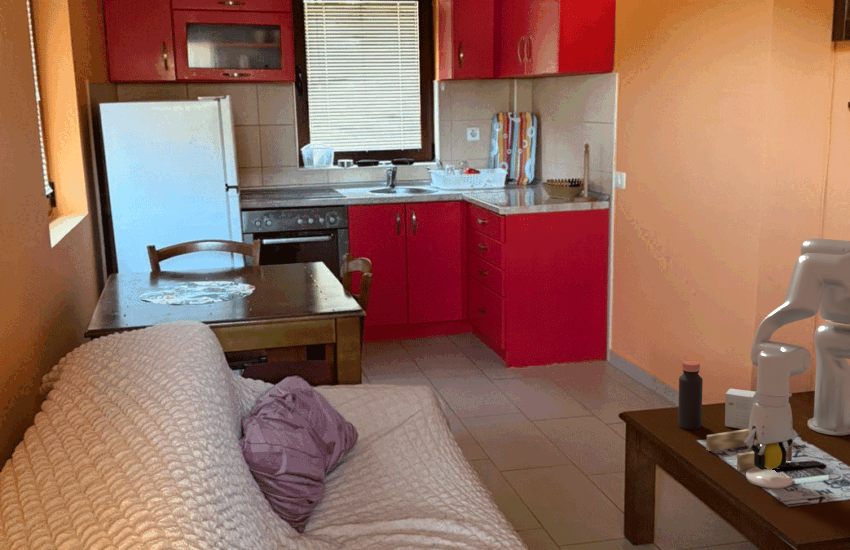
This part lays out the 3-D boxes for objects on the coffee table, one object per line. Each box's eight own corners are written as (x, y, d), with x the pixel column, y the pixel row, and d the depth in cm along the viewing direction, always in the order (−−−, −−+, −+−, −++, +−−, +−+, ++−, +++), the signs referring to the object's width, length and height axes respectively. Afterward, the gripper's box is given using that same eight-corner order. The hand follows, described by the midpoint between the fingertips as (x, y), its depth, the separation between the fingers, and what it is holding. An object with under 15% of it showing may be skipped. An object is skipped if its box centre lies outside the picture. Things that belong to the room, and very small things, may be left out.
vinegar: (705, 428, 244) (707, 364, 241) (684, 431, 244) (685, 366, 240) (694, 421, 251) (696, 358, 247) (674, 423, 250) (675, 360, 246)
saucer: (773, 467, 216) (773, 464, 216) (802, 484, 206) (802, 481, 206) (737, 473, 214) (737, 470, 213) (764, 491, 203) (764, 487, 203)
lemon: (783, 475, 206) (784, 445, 205) (760, 474, 207) (761, 444, 206) (778, 465, 212) (780, 436, 210) (756, 464, 213) (757, 436, 211)
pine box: (755, 442, 233) (756, 427, 232) (791, 462, 219) (792, 447, 218) (706, 450, 229) (706, 435, 228) (739, 471, 215) (740, 455, 214)
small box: (756, 424, 246) (757, 391, 244) (752, 431, 242) (753, 397, 240) (728, 420, 250) (729, 387, 249) (724, 426, 246) (725, 393, 244)
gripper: (791, 389, 211) (788, 455, 215) (733, 398, 207) (731, 465, 211) (811, 399, 204) (808, 466, 208) (752, 408, 200) (750, 476, 204)
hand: (769, 465), depth 209 cm, fingers open, 5 cm apart
